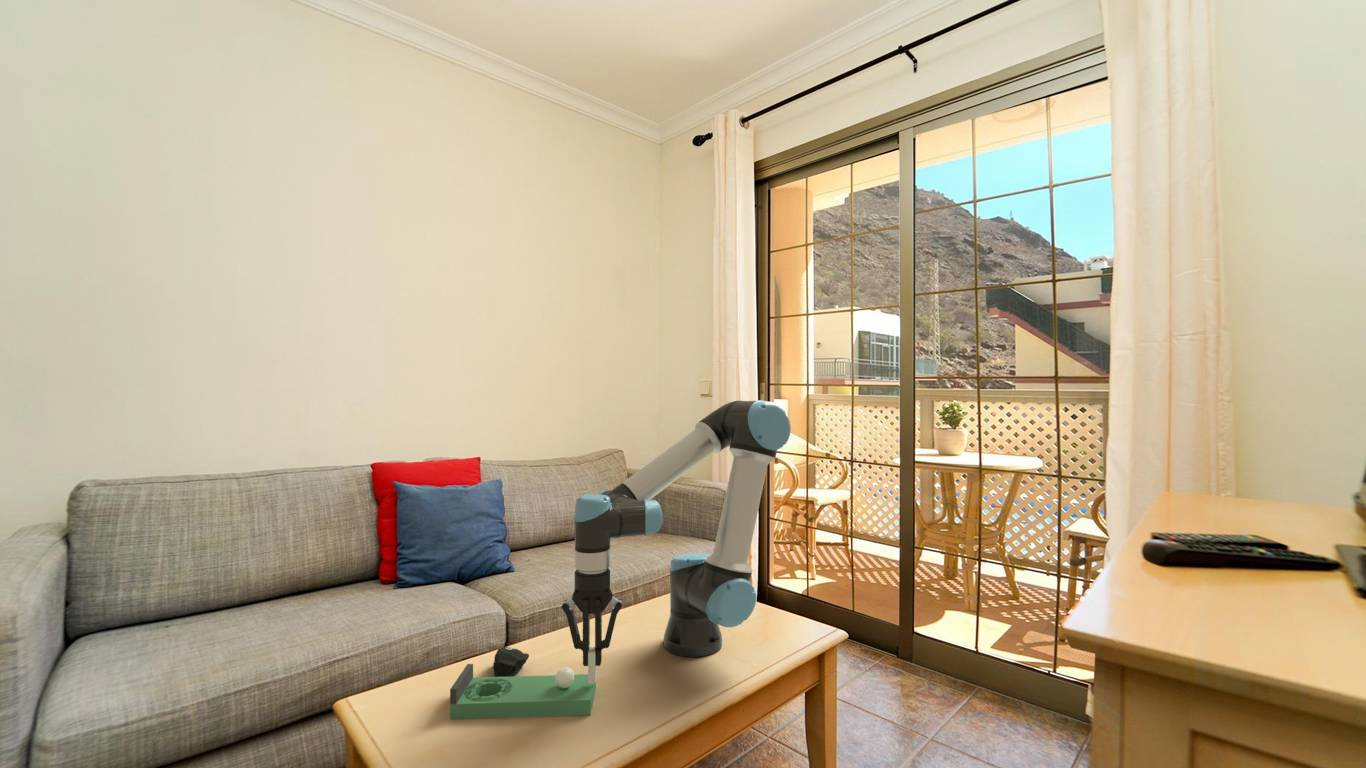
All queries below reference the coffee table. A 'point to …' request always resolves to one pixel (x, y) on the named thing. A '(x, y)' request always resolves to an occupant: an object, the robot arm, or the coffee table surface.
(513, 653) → the mineral
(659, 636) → the coffee table surface
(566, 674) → the ball
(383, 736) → the coffee table surface
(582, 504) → the robot arm
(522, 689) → the green
